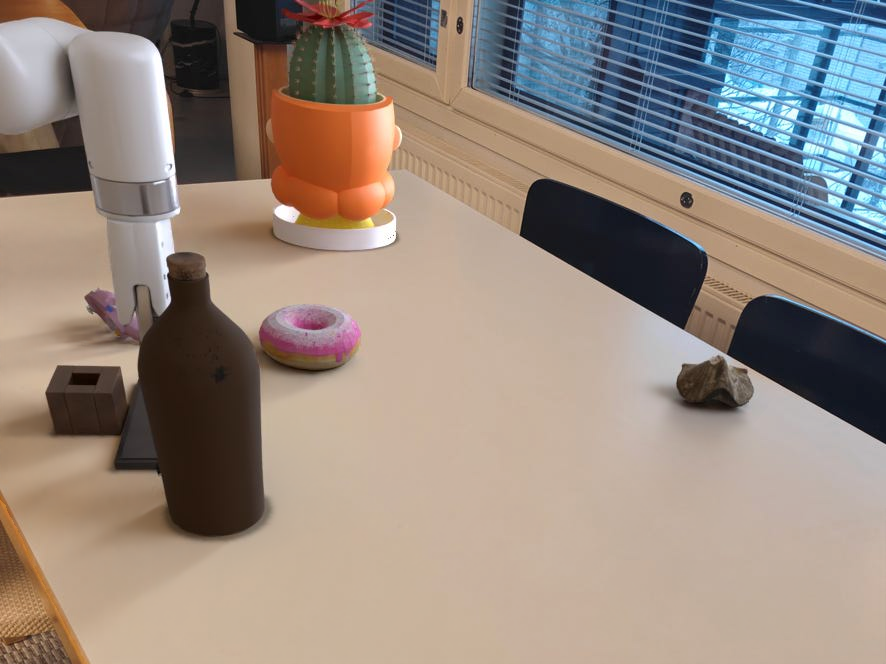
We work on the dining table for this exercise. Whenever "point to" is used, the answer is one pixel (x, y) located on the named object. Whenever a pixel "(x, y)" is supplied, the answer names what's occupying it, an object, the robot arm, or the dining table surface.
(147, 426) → the tablet
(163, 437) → the rum bottle
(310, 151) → the potted cactus
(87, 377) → the pen holder
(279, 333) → the donut
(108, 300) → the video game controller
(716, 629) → the dining table surface
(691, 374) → the fossilized seashell
